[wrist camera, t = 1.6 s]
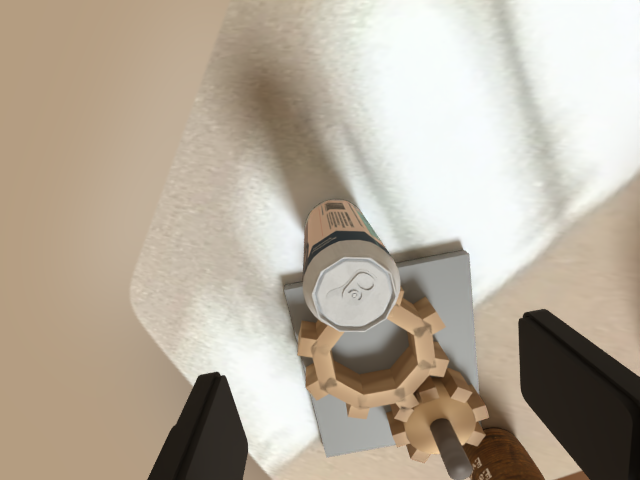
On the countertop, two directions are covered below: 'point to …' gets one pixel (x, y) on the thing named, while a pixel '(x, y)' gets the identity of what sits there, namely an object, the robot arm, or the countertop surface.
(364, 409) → the oak gear
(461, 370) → the gear board
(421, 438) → the small gear
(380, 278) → the beer can
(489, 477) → the utensil holder
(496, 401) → the countertop surface
